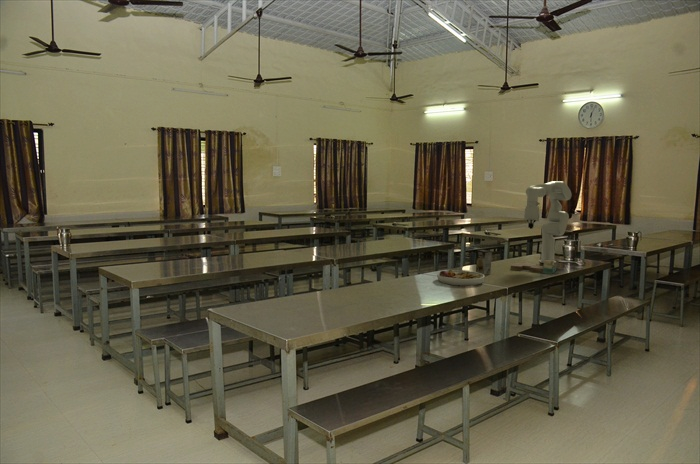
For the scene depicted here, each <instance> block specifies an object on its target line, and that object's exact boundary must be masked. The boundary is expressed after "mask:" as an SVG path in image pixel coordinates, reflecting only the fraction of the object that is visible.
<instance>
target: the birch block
mask: <svg viewBox="0 0 700 464" xmlns="http://www.w3.org/2000/svg"><path fill="white" fill-rule="evenodd" d="M554 261H555V260H554ZM554 261H551V260H545V261H544V263H543V266H544V268H554V266H555V263H554Z"/></svg>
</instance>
